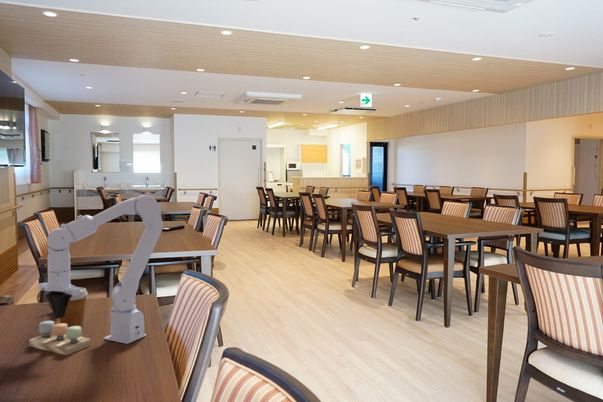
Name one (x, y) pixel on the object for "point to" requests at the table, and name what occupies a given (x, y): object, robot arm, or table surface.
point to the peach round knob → (59, 331)
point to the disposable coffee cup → (75, 310)
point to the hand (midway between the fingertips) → (59, 317)
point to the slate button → (46, 328)
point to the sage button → (73, 333)
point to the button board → (59, 344)
